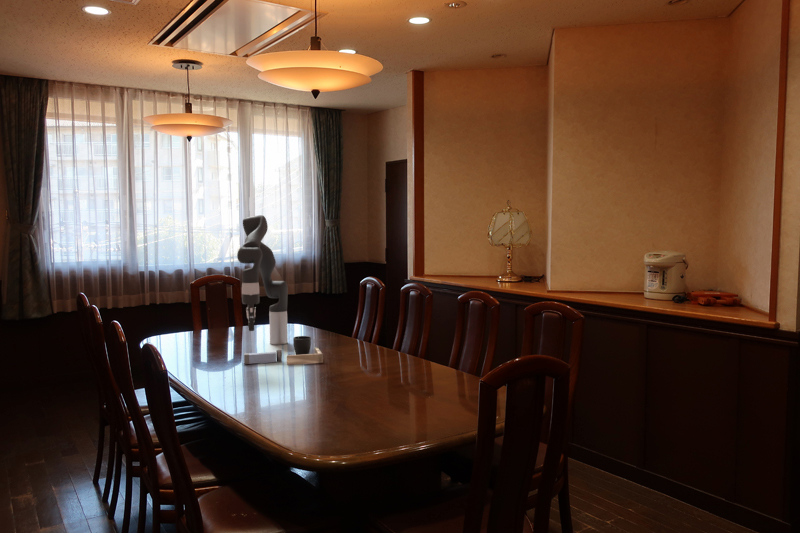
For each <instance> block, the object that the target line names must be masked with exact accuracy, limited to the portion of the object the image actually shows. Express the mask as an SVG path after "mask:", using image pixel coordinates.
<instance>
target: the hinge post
mask: <svg viewBox="0 0 800 533" xmlns="http://www.w3.org/2000/svg"><path fill="white" fill-rule="evenodd" d="M282 351H283V350H282V349H276V351H275V352H276V363H283V360H282V359H283V356H282V355H283V352H282Z"/></svg>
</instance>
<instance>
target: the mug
mask: <svg viewBox="0 0 800 533" xmlns="http://www.w3.org/2000/svg"><path fill="white" fill-rule="evenodd" d="M292 341H293V349H294V353H295V354H294V355H302V354H310V352H311V347H312V346H311V345H312V337H311V336H309V335H297V336H294V337H293V340H292Z"/></svg>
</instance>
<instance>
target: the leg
mask: <svg viewBox="0 0 800 533" xmlns="http://www.w3.org/2000/svg"><path fill="white" fill-rule="evenodd" d="M243 359H244V361H243V362H244V365H248V364H250V365H251V364H265V363H266V364H267V363H277V358H276V351H269V352H253V353H251V352H250V353H249V352H248V353H247V352H244V354H243Z"/></svg>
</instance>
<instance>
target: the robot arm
mask: <svg viewBox="0 0 800 533" xmlns="http://www.w3.org/2000/svg"><path fill="white" fill-rule="evenodd" d="M268 227H269V226H268V222H267V219H266V217H265V216H264V215H262V214H261V215H260V214H259V215H253V216H252V215H251V216H247V217H245V218H243V219H242V228H243V231H244V233H245V235H246V237H245V240H244V243H243V244H242V245H241V246H240V247H239V249H238V251H237V254H236V255H237V256H236V259H237V260H238V262H239V263H240V264H243V265H244V264H247V265H248V264H253V266H252V267H251V268H245V269H243V270H242V272H241V283H242V284H241V303H242V305H247V307H246V308H245V311H246V318H247V320H248V321H247V323H248V324H247V326H248V331H249V332H254V331H255V321H256V308H257V307H256V306H255V307H254V305H258V304H260V284H259V281H260V280H259V276H261V278H262V284H263V287H264V291H265V295H266V296H267V297H268V298H270V299H278V301H277V303H274V304H272V305H270V306H269V309H268V311H269V313H268V316H269V344H270V345H284V344H285V345H286V344H287V343H288V298H289V297H288V295H289V294H288V293H289V290H288V288H289V287H288V282H287V281H284V280H273V278H272V274H273V271H274V270H275V266H276V264H277V263H276V258H275V256H274V252H273V250H272V249H271V248H270V247H269V246H268V245H266V244H265V243H263V242H262V241H263V239H264V237H265V236H266V234H267V233H268ZM259 273H260V275H259Z"/></svg>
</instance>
